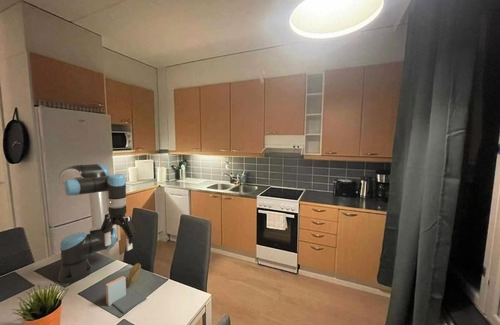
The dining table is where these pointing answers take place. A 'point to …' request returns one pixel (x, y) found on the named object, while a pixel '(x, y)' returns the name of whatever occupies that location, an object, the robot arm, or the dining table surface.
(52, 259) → the dining table surface
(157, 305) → the dining table surface
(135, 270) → the rock
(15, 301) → the dining table surface
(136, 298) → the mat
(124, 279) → the tile
